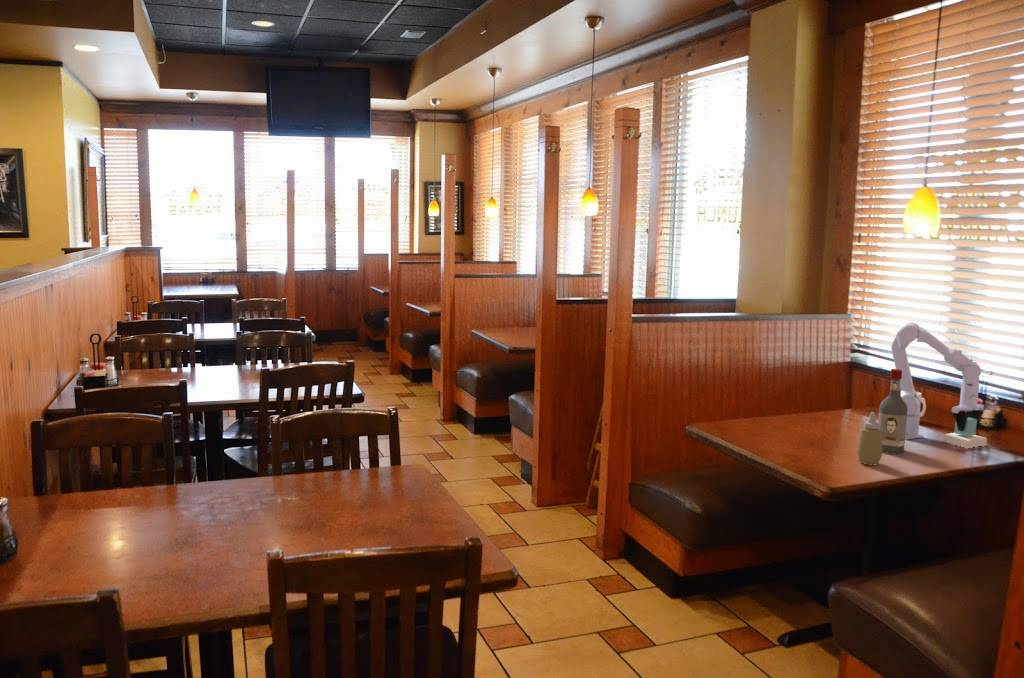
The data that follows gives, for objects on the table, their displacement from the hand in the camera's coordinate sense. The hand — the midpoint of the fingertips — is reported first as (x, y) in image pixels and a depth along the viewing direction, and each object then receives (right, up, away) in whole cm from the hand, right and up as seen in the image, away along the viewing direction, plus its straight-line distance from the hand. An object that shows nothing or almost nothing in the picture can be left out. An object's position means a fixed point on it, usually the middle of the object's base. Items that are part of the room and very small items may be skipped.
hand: (965, 429), depth 302 cm
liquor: (-33, -7, -9) cm, 35 cm away
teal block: (0, -2, 0) cm, 2 cm away
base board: (0, -5, +1) cm, 5 cm away
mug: (-3, -1, +34) cm, 34 cm away
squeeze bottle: (-48, -9, -25) cm, 55 cm away
